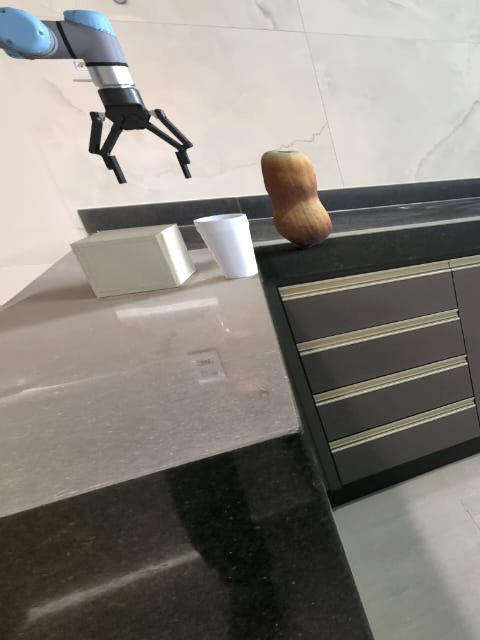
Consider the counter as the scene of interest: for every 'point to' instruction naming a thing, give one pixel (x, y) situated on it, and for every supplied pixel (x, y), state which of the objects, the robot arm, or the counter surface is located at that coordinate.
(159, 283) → the beige rounded box
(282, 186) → the butternut squash
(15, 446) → the counter surface
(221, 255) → the foam cup
